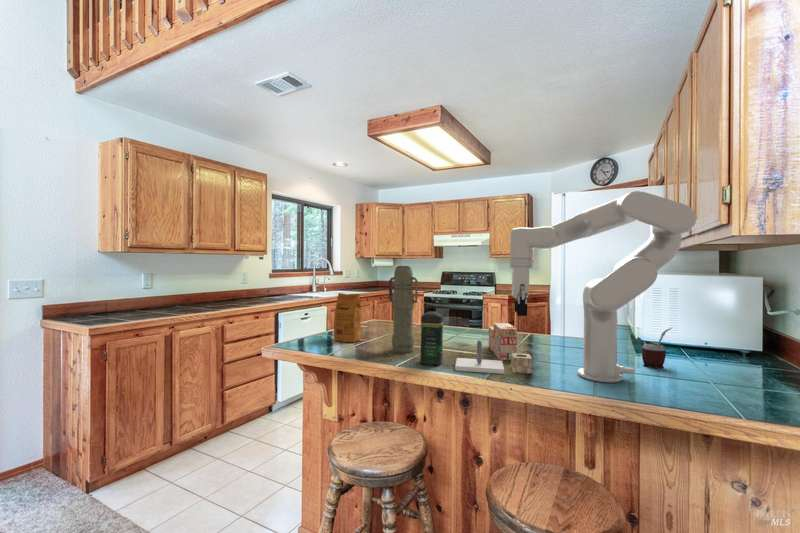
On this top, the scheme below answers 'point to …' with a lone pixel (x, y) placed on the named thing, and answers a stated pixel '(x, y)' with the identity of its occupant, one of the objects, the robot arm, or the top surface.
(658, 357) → the mate gourd
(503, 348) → the food package box
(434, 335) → the coffee jar
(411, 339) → the thermos
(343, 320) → the coffee package
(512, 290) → the robot arm
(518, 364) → the bead
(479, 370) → the needle board
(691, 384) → the top surface
